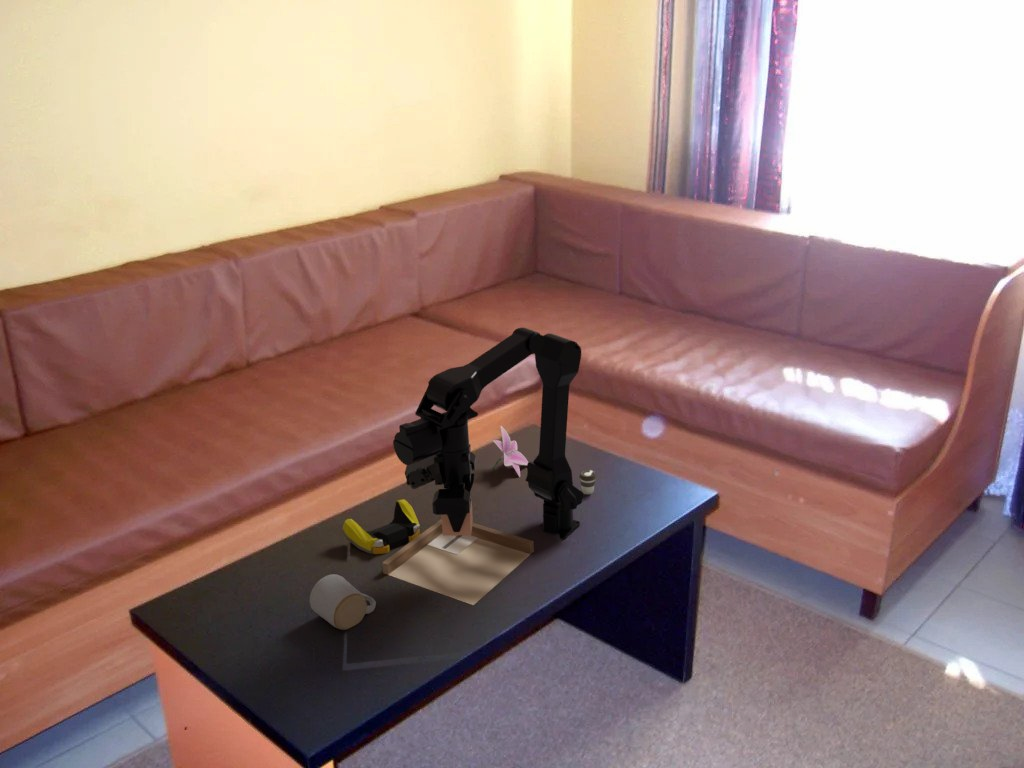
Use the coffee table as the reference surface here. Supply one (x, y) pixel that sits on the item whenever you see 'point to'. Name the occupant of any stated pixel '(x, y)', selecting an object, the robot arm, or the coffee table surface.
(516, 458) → the lily
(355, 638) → the coffee table surface
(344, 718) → the coffee table surface
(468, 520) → the cube
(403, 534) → the gaming controller
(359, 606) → the ceramic mug
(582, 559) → the coffee table surface
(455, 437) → the robot arm
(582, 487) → the coffee cup
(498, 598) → the coffee table surface
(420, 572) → the arena
